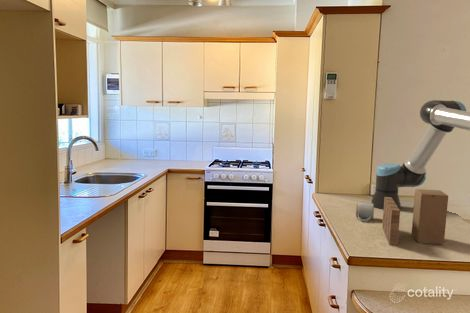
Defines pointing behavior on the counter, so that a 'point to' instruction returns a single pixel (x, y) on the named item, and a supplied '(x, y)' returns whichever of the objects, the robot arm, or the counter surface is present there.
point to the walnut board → (391, 221)
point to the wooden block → (429, 216)
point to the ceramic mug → (365, 212)
